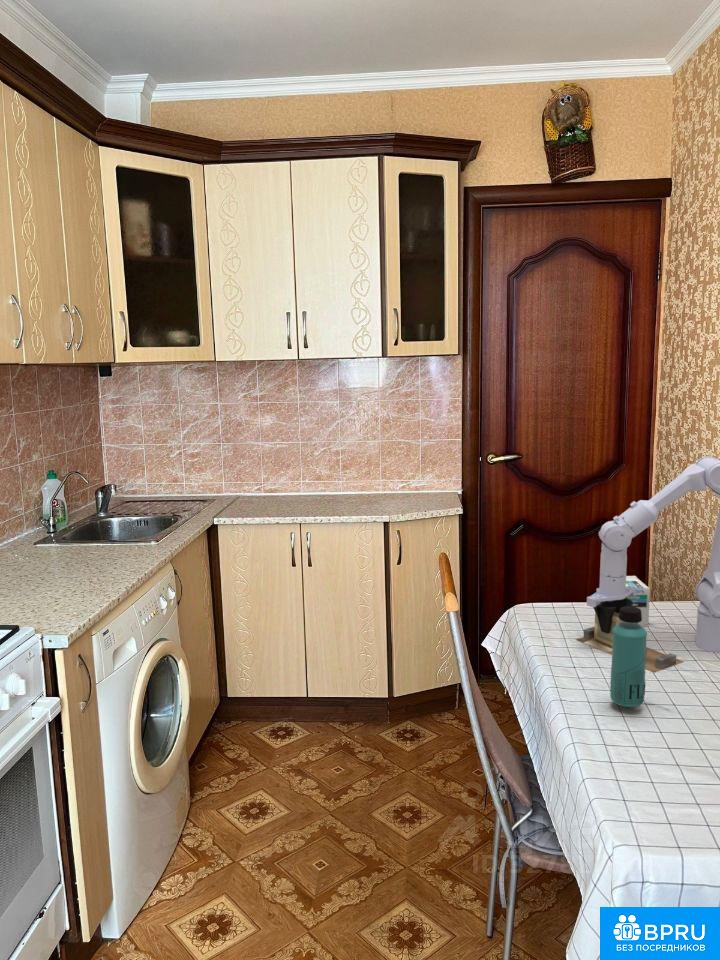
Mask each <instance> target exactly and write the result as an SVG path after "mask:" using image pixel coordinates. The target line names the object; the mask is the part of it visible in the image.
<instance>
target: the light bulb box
mask: <svg viewBox="0 0 720 960" xmlns="http://www.w3.org/2000/svg"><path fill="white" fill-rule="evenodd" d="M627 586H632V587H635V588H637V593H636V596H628V597H627V599H629V600H631V601H632V605H631V606H632V607H637V608H639V609H641V615H642V621H641V622H638V623H637V624H639V625H641V626H642V627H643V628H648V627H649V618H650V617H649V616H650V594H651V588H650V587H649V586H647V584H646V583H644V582H642V580H640V578H638V577H637V576H636V575H626V587H627Z"/></svg>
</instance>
